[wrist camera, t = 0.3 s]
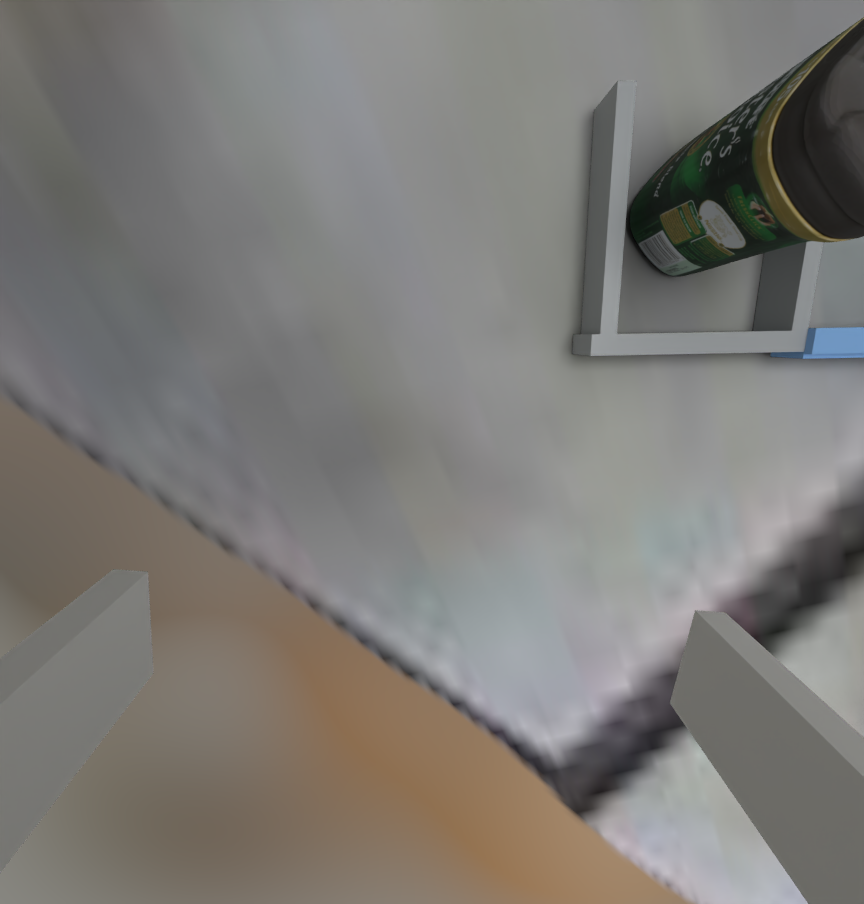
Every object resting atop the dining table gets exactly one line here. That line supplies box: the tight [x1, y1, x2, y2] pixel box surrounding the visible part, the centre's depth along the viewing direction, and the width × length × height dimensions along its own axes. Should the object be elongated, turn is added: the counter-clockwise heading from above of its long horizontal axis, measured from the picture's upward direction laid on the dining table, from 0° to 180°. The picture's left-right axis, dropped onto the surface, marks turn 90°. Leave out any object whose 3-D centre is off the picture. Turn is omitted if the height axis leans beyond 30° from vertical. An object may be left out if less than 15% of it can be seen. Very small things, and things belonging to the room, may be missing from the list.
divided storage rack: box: [572, 81, 864, 359], centre depth 33 cm, size 18×30×5 cm, turn 91°
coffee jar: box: [630, 18, 864, 276], centre depth 26 cm, size 10×8×19 cm
